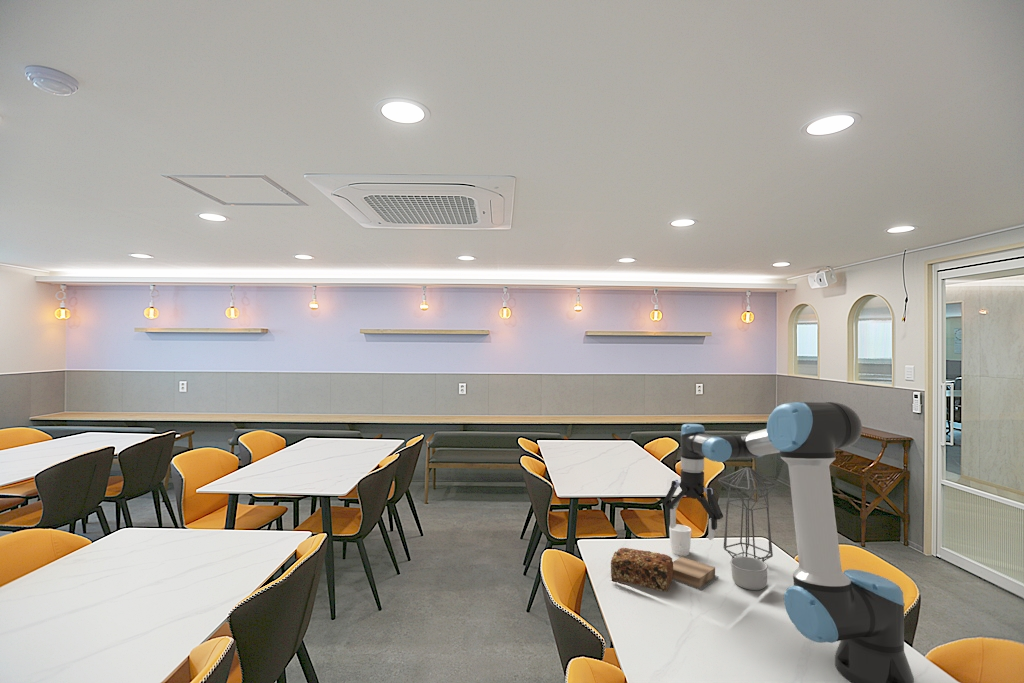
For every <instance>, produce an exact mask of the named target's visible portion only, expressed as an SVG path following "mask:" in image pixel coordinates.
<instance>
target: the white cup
mask: <svg viewBox="0 0 1024 683" xmlns="http://www.w3.org/2000/svg"><path fill="white" fill-rule="evenodd" d="M668 528H669V531H668V532H669V546H670V552H671V553H672V554H673V555H677V556H681V557H684V556H688V555H690V550H691V541H692V540H691V539H692V528H691V527H689V526H687V525H684V524H677V523H676V527H674V528H670V525H669V527H668Z"/></svg>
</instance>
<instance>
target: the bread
mask: <svg viewBox="0 0 1024 683" xmlns="http://www.w3.org/2000/svg"><path fill="white" fill-rule="evenodd" d="M673 562H674V560H673V558H672V557H671V556H669V555H668V554H665V553H659V552H652V551H649V550H641V549H634V548H629V547H628V548H627V547H620V548H619V549H617V551H614V553H613V556H612V557H611V560H610V578H611V580H612V582H613V583H619V584H621V585H624V586H625V585H626V586H629V587H630V585H629V584H632V585H637V586H639V587H644V588H648V589H653V590H656V591H661V592H668V589H670V588H669V587H670V586H671V584H672V583H673V580H672V578H673ZM624 582H625V583H624ZM626 583H627V584H626Z"/></svg>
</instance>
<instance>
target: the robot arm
mask: <svg viewBox="0 0 1024 683" xmlns="http://www.w3.org/2000/svg"><path fill="white" fill-rule="evenodd" d="M705 430H706V429H705V427H704V425H702V424H700V423H699V424H698V423H684V424H682V425H681V431H680V481H679V480H678V479H675V480H672V481H671V486H670V488H669V490H668V491H667V494H666V496H665V498H664V500H663V501H662V505H663V506H665V507H667V517H668V518H669V526H670V528H674V527H676V524H677V507H675V506H676V505H677V504H678V503H679V502H680V501H681V500H682V499H684V498H683V497H685V498H691V499H693V500H697V501H698V502H699V503H700V504H701V506H702V507H703V509H704V510H705V512H706V513H707V515H708V516H709V519H708V537H707V538H708V540H709V541H712V540H713V539H715V531H716V530H717V529H718V520H721V519H723V518H724V515H723V513H722V512H723V511H722V509H721V507H720V504H719V503H718V500H717V498H716V496H715V493H714V490H715V489H714V488H713V487H705V484H704V483H705V472H704V470H705V459H708V460H709V461H712V462H717V463H725V462H726V461H727V460H731V459H733V460H734V459H758V458H762V457H764V456H765V455H772V454H779V456H780V457H779V458H780V459H782V460H783V461H784V462H785V463H786V465H787V466H788V475H789V484H790V494H791V500H792V501H791V503H792V511H793V520H794V521H793V522H794V531H795V542H796V550H797V558H798V567H796V569H795V570H794V571H793V572H792V579H793V585H791V586H789V587H788V588H787V589H786V591H784V594H783V602H784V608H785V610H786V615H788V616H787V617H788V618H789V619H790V621H791V622H792V624H793V625H794V627H795V629H796V630H797V631H798V632H799V633H800V634H801V635H803V636H804V637H805V638H806V639H808V640H809V641H812V642H815V643H819V644H820V643H822V644H823V643H831V644H833V643H836V642H839V643H838V646H837V648H836V651H835V655H834V664H835V665H834V666H835V668H836V670H837V671H838V672H839V673H840V674H841V675H842V676H843V677H844V678H846V680H848V681H849V682H851V683H915V678H914V675H913V672H912V669H911V666H910V664H909V661H908V658H907V655H906V653H905V606H906V605H905V602H904V591H903V589H902V588H901V587H900V586H899V585H898V583H896V582H894V581H892V580H890V579H889V578H886V577H884V576H880V575H878V574H876V573H872V572H869V571H865V570H860V569H859V570H858V569H854V568H853V569H852V568H851V569H845V570H844V571H842V569H843V568H842V563H841V562H842V561H841V553H840V545H839V537H838V529H837V528H838V527H837V520H836V513H835V512H836V511H835V505H834V504H835V503H834V495H833V488H832V479H831V470H830V465H831V464H832V463H833V462H834V461H836V460H837V459H836V450H840V449H845V448H849V447H851V446H853V445H854V444H856V443H857V441H858V440H859V439H860V437H861V435H862V432H863V424H862V420H861V419H860V416H859V415H858V413H857V412H856V411H855V410H853V409H852V408H851V407H849V406H848V405H845V404H843V403H839V402H835V401H823V402H822V401H821V402H818V401H817V402H812V401H811V402H810V401H809V402H808V401H806V402H805V401H801V402H800V401H795V402H787V403H782V404H780V405H778V406H776V407H775V408H774V409H773V410H772V412H771V413H770V414H769V416H768V419H767V423H766V428H764V429H763V428H762V429H760V430H756V431H751V432H747V433H742V434H725V435H724V434H720V435H713V434H709V433H706V431H705ZM679 487H680V490H681V491H680V492H679V493H678V494H677V495H676V496H675V497H674V498H673V496H674V495H675V492H676V491H677V490H678V488H679ZM704 493H705V494H706V495H705V494H704ZM706 496H707V498H706ZM707 499H708V500H707ZM671 500H672V501H671ZM708 501H709V502H708Z"/></svg>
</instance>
